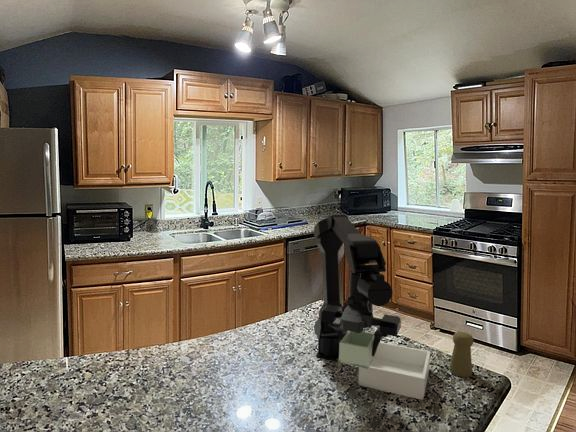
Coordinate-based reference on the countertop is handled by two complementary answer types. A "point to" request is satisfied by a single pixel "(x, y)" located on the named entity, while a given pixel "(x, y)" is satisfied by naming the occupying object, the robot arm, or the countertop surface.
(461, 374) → the olive pepper shaker
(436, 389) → the countertop surface
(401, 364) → the white open box
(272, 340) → the countertop surface
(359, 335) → the sage crate
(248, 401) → the countertop surface
